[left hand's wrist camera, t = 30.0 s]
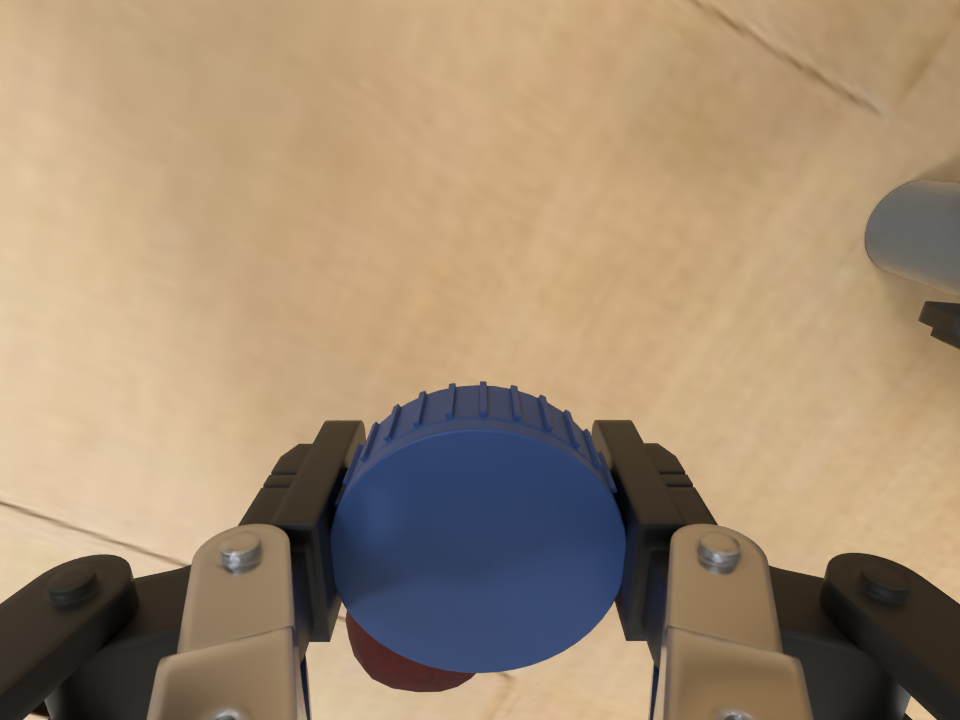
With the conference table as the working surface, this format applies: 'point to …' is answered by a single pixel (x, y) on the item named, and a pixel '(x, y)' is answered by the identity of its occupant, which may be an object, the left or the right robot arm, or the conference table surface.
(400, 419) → the lid
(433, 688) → the potato
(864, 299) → the conference table surface
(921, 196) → the grey cylinder
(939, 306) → the right robot arm
